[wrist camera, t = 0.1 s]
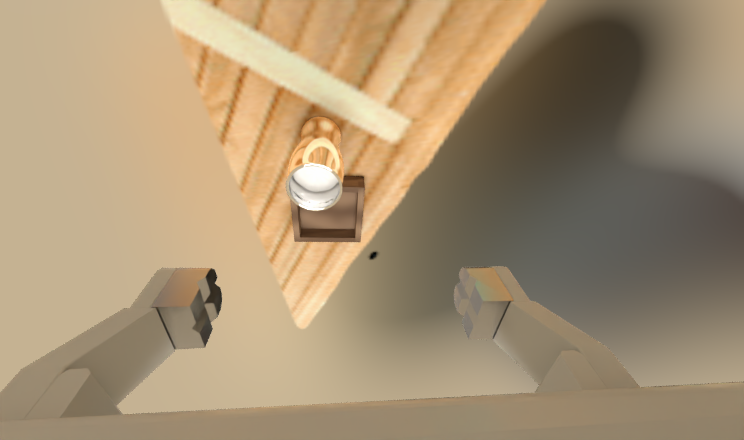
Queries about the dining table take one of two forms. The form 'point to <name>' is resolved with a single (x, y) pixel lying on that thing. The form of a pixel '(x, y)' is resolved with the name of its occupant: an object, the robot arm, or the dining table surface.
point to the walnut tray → (333, 217)
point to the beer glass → (316, 166)
